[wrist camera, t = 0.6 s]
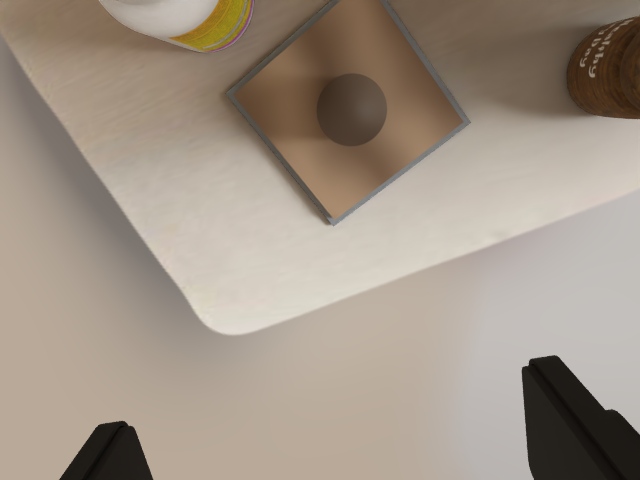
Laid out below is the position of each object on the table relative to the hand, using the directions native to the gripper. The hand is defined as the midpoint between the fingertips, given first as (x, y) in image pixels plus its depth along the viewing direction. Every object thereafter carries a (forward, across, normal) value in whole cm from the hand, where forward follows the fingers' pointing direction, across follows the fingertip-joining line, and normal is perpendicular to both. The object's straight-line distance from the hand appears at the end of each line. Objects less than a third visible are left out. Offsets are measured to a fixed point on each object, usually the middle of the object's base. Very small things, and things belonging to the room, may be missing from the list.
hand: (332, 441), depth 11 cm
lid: (+24, -2, -7) cm, 25 cm away
